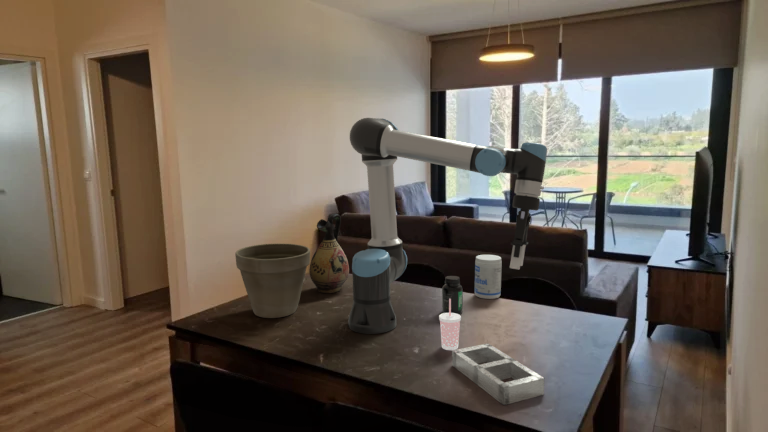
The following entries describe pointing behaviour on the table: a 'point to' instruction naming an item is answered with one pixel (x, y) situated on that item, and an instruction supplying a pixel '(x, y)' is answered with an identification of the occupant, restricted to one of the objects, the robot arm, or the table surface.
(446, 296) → the supplement bottle
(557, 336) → the table surface
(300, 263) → the plant pot
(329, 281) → the ceramic jug
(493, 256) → the supplement tub
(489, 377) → the grey hollow block
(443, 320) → the beverage cup
